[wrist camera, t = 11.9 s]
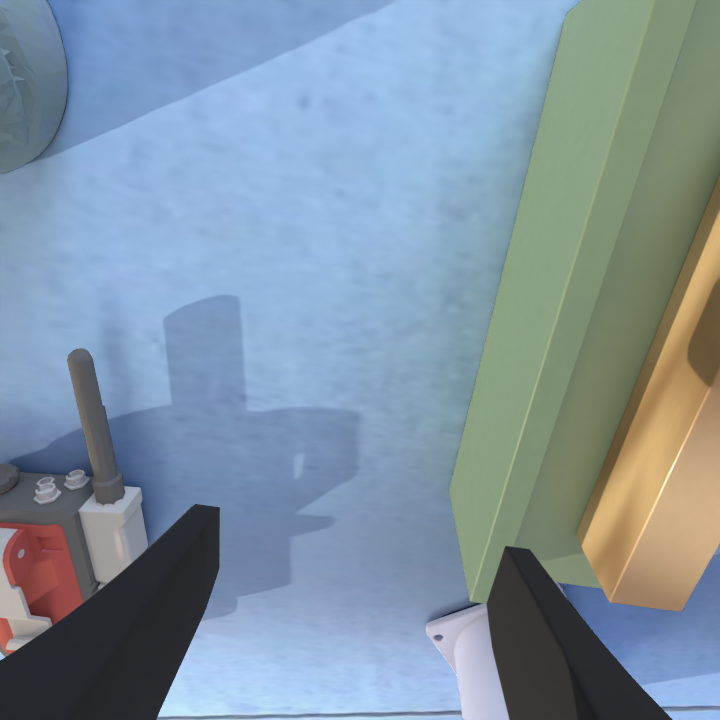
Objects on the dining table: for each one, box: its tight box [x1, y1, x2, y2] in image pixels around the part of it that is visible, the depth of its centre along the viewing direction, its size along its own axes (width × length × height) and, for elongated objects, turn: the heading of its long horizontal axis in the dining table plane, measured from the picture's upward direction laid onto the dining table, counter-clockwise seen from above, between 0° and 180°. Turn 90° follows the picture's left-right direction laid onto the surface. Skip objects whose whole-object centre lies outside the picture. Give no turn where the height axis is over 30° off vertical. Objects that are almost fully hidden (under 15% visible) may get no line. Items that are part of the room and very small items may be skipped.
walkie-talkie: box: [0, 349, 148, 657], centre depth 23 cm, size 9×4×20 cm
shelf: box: [449, 0, 720, 604], centre depth 17 cm, size 20×9×6 cm, turn 173°
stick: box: [576, 174, 720, 612], centre depth 14 cm, size 15×2×3 cm, turn 173°
